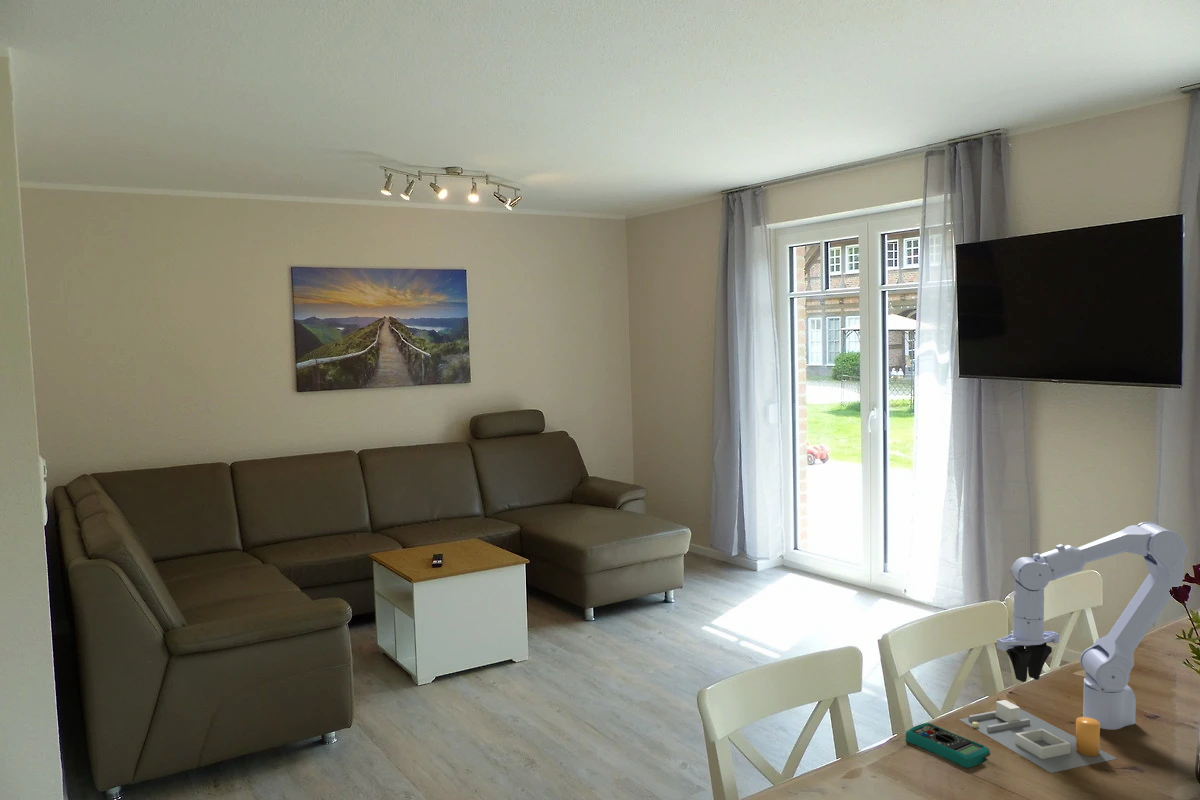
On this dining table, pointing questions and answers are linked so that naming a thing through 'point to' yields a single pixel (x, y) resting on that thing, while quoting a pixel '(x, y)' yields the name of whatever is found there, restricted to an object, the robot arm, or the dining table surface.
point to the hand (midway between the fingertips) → (1027, 679)
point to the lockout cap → (1087, 736)
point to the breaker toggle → (1007, 711)
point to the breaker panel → (1035, 741)
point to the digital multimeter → (947, 745)
